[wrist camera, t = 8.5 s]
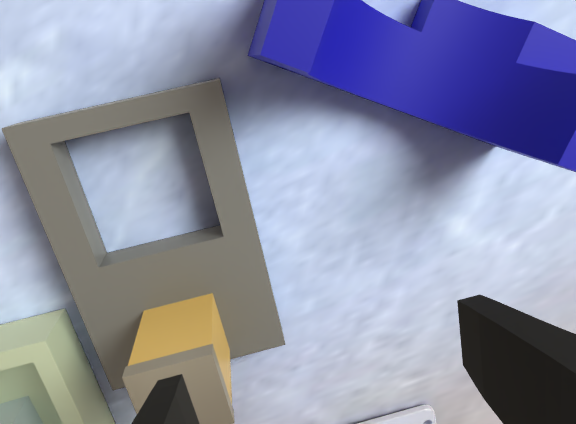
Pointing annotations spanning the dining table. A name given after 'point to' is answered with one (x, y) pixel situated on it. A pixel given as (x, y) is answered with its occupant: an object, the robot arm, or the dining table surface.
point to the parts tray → (50, 370)
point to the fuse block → (158, 256)
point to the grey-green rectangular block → (19, 412)
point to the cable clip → (437, 67)
